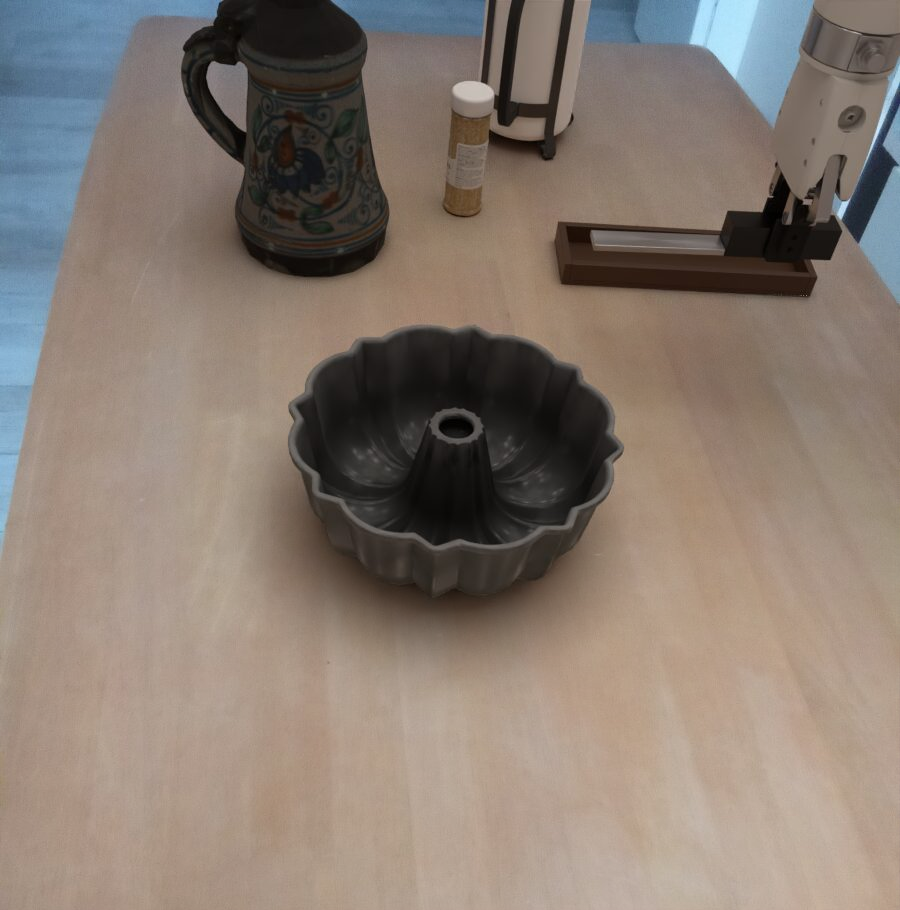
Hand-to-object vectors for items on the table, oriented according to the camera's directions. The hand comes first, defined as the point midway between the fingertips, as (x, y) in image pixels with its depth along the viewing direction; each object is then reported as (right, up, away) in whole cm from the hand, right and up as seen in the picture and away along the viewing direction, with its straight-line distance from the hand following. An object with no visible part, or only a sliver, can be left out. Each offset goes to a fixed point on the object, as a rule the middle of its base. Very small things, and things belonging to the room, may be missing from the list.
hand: (776, 248), depth 93 cm
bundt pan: (-30, -25, -5) cm, 39 cm away
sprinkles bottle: (-28, +13, +24) cm, 40 cm away
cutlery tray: (-4, +5, +20) cm, 21 cm away
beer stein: (-46, +7, +18) cm, 50 cm away
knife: (-6, 0, 0) cm, 6 cm away
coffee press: (-21, +26, +36) cm, 49 cm away
